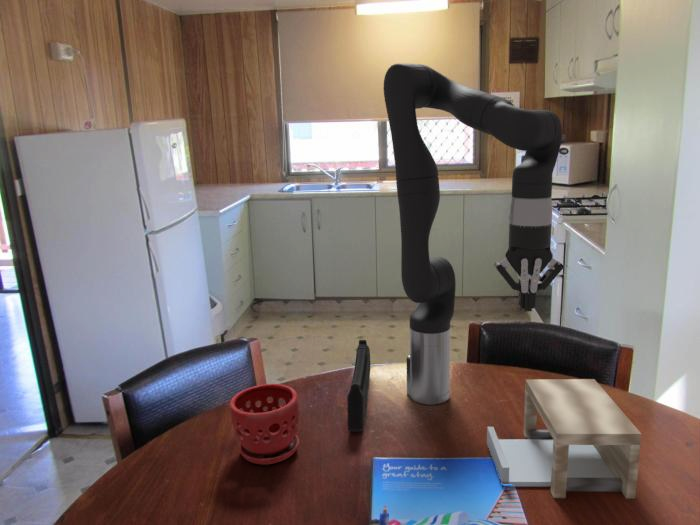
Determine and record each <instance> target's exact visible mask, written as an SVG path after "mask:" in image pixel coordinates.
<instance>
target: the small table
mask: <svg viewBox="0 0 700 525" xmlns="http://www.w3.org/2000/svg"><path fill="white" fill-rule="evenodd" d="M523 411H524V413H523V432H522V433H523V436H524V438H525V439H553V456H552V474H551V487H550V493H551V495H552V498H553V499H566V498H567V492H615V493H616V492H621V493H622V495H623V496H624V497H625V499H628V500H629V499H633V500H634V499H636V496H637V485H638V474H639V466H640V453H641V445H642V444H641V443H642V433H641V432H640V430H639V429H638V428H637V427H636V426H635V425H634V424H633V422H632V421H631V420H630V419H629V417H628V416H627V415H626V414H625V413H624V412H623V411H622V410H621V408H620V407H619V405H617V403H616V402H615V401H614V400H613V399H612V398H611V396H609V394H608V393H607V392H606V390H604V388H603V387H602V386H601V385H600V383H598V382H597V380H596V379H595V378H581V379H580V378H579V379H578V378H571V379H569V378H567V379H561V378H559V379H557V378H556V379H555V378H554V379H549V378H548V379H547V378H546V379H541V378H540V379H539V378H538V379H525V386H524V408H523ZM537 413H538V414H539V416H540V418H541V419H542V421H543V423H544V425H545V427H546V429H537ZM569 445H594V447H595V448H596V450H597V451H598V453H599V454H600V456H601V457H602V459H603V460H604V461H605V463H606V464H607V466H608V467H609V469H610V470H611V472H612V473H613V475H614V476H615V478H567V469H568V453H569Z"/></svg>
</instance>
